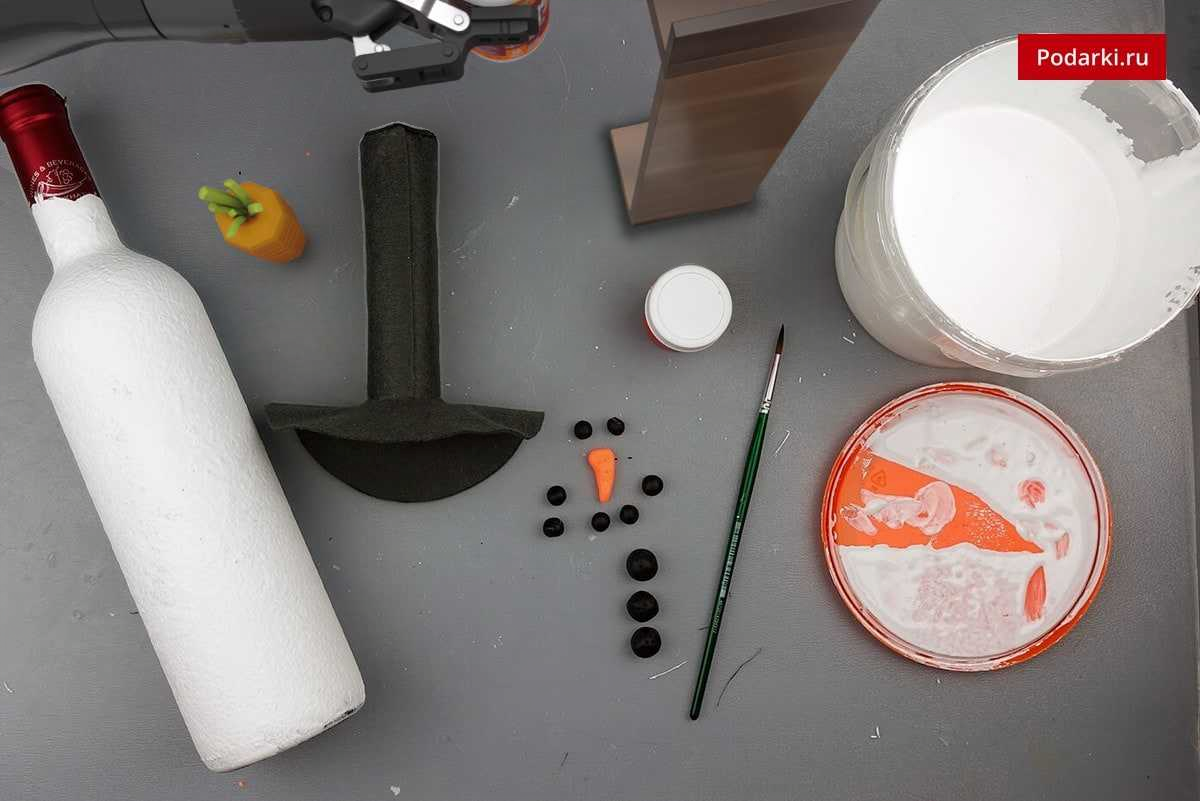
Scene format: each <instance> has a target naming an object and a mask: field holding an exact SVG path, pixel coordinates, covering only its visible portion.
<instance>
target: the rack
mask: <svg viewBox="0 0 1200 801" xmlns="http://www.w3.org/2000/svg"><path fill="white" fill-rule="evenodd" d="M881 2H882V0H646V4H647V8H648V13H649V16H650V20H651V25H652V29H653V33H654V37H655V43H656V47H657V50H658V55H659V59H660V62H661V63H662V68H663V72H664V76H665V79H666V80H667V79H671V78H676V77H681V76H686V75H691V74H695V73H700V72H705V71H710V70H714V69H719V68H724V67H729V66H733V65H738V64H743V63H748V62H753V61H757V60H762V59H767V58H772V57H776V56H781V55H786V54H791V53H796V52H800V51H805V50H810V49H815V48H819V47H824V46H829V45H834V44H838V43H843V42H848V41H853V40H855V41H856V40H857V39H858V38H859V36H860V35H861V33H862V32H863V30H864V29H865V26H866V25H867V23H868V22H869V21H870V19H871V17H872V16H873V14H874V13H875V11H876V10H877V8H878V7H879V6H880V4H881ZM661 63H660V64H661Z"/></svg>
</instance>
